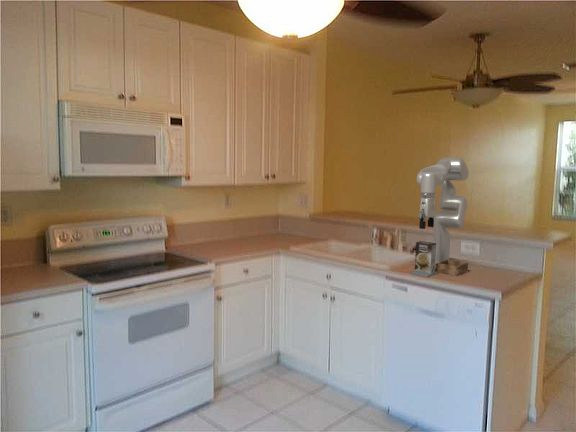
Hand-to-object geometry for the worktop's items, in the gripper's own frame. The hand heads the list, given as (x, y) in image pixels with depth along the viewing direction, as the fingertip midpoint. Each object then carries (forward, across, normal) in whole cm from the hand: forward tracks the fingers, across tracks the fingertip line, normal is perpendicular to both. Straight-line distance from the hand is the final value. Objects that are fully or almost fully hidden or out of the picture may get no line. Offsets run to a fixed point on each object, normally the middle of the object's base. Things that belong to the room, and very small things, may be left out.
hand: (426, 227), depth 239 cm
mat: (+25, -1, 0) cm, 25 cm away
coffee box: (+24, 0, 0) cm, 24 cm away
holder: (+25, +14, -9) cm, 30 cm away
